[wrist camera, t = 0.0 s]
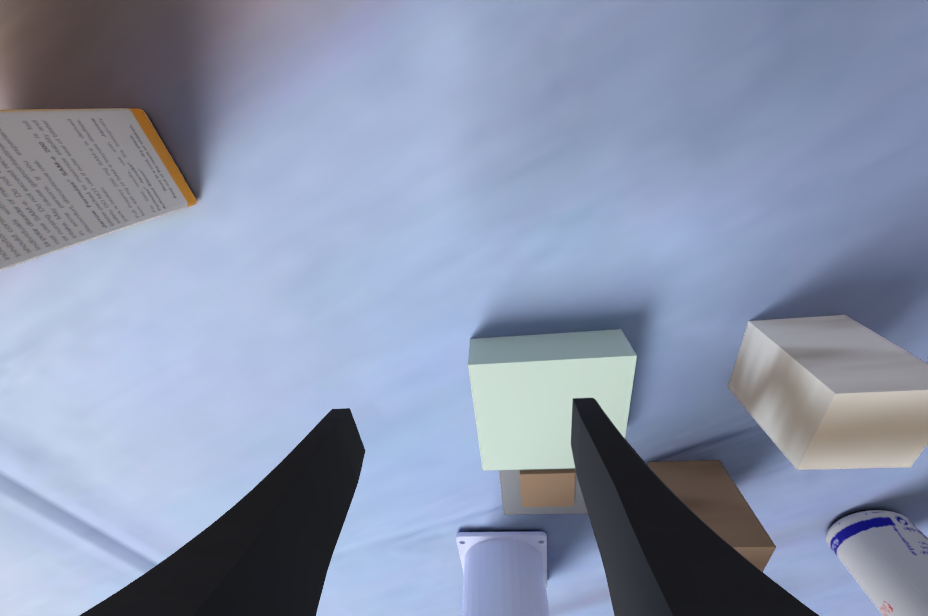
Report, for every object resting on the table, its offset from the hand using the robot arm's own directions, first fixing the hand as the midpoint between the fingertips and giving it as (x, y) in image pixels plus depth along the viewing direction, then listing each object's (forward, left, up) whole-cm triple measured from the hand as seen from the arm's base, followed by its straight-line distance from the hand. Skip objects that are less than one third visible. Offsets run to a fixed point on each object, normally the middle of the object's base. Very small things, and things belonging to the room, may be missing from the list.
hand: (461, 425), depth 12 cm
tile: (-17, -4, -10) cm, 20 cm away
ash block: (-6, -18, -10) cm, 22 cm away
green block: (-8, -4, -11) cm, 14 cm away
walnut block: (-18, -14, -10) cm, 25 cm away
